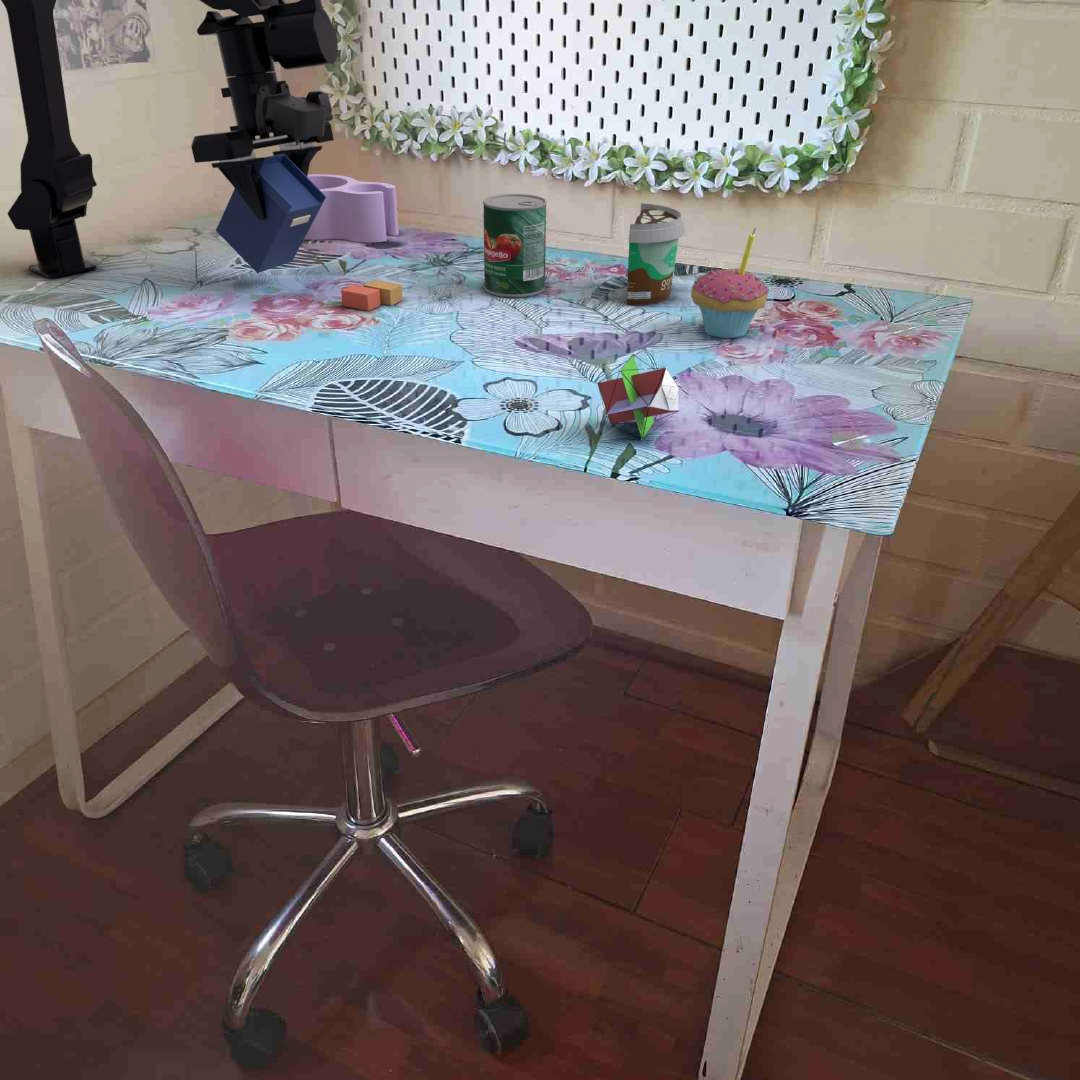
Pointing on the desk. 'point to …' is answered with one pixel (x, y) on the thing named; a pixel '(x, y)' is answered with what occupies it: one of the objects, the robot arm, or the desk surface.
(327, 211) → the clip
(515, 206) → the canned tomato
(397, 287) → the snack bar tan
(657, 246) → the food container
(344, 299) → the block
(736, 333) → the cupcake
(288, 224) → the blue storage box
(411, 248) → the desk surface
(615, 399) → the geometric puzzle
